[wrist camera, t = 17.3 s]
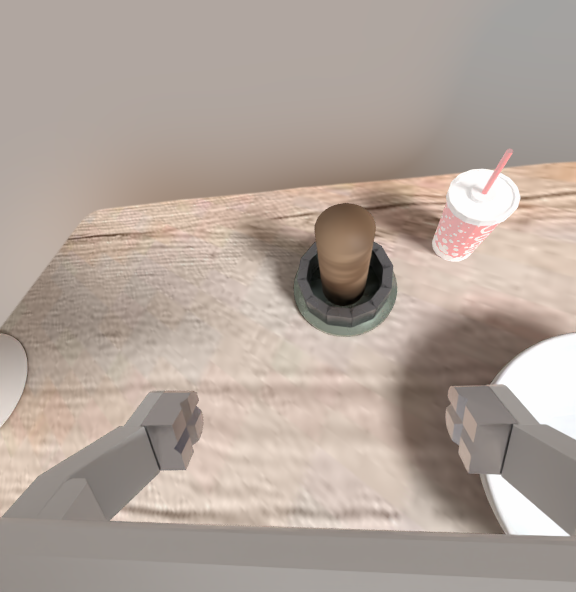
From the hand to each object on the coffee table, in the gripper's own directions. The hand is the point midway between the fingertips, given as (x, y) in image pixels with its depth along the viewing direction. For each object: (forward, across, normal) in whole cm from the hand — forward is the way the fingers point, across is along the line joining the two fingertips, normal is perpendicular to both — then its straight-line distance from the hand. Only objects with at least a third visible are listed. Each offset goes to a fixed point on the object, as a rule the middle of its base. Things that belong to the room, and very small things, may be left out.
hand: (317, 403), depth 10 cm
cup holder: (+27, -3, +7) cm, 28 cm away
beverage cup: (+30, -16, +3) cm, 35 cm away
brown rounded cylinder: (+27, -3, +6) cm, 28 cm away
